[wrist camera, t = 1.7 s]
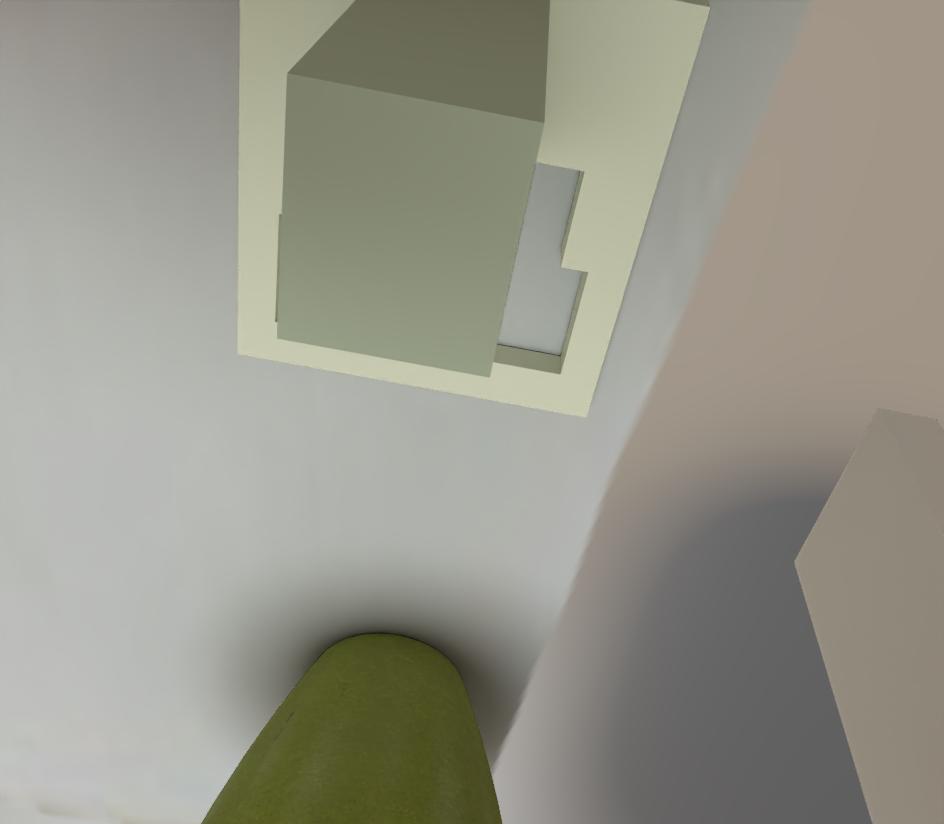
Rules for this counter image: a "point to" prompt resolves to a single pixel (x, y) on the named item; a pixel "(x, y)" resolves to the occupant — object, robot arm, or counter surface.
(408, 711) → the flower pot
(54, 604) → the counter surface
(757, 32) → the counter surface
